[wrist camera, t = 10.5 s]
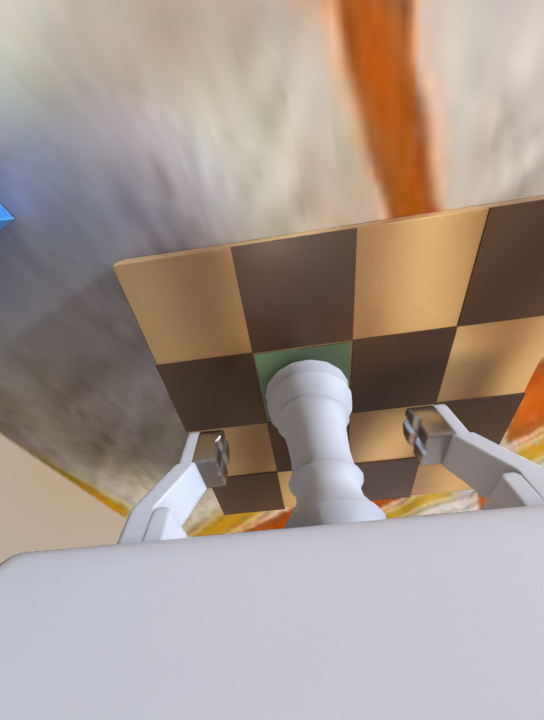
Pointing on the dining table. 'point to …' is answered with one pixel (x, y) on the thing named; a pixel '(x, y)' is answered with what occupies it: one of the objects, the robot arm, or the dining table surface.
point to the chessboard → (350, 336)
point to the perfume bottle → (4, 217)
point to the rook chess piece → (318, 444)
